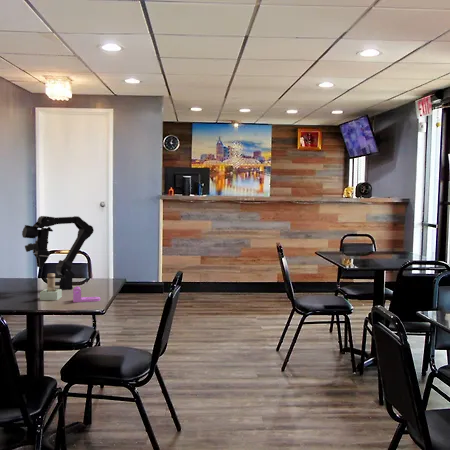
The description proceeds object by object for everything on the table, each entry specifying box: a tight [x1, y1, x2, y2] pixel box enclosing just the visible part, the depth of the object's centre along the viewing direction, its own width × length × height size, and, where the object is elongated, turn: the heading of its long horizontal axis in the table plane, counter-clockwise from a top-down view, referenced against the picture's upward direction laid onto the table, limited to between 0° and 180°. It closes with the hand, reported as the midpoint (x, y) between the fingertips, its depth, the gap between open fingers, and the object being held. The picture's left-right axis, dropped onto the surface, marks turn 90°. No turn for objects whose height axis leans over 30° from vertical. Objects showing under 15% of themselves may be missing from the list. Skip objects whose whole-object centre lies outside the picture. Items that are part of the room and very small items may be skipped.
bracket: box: [72, 286, 101, 303], centre depth 251 cm, size 13×6×7 cm, turn 107°
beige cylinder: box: [46, 272, 56, 292], centre depth 255 cm, size 4×4×12 cm
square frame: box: [39, 288, 63, 301], centre depth 255 cm, size 8×8×4 cm
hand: (39, 267), depth 273 cm, fingers open, 9 cm apart
